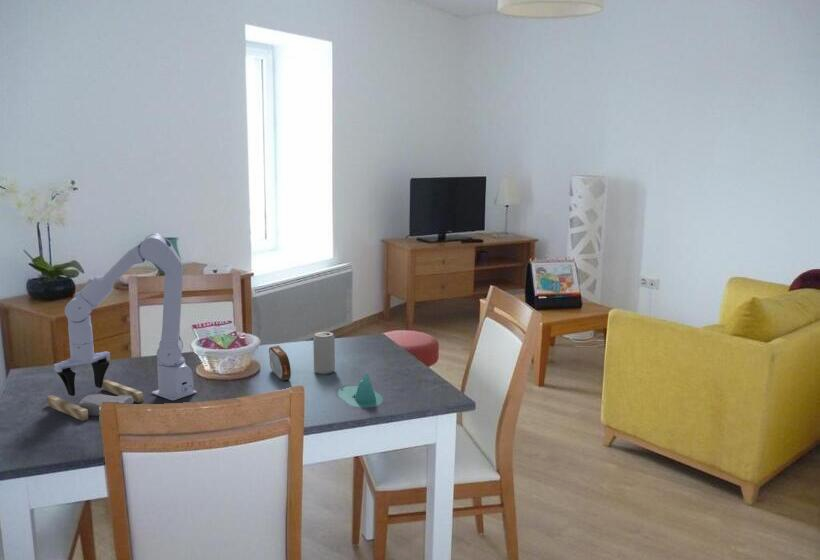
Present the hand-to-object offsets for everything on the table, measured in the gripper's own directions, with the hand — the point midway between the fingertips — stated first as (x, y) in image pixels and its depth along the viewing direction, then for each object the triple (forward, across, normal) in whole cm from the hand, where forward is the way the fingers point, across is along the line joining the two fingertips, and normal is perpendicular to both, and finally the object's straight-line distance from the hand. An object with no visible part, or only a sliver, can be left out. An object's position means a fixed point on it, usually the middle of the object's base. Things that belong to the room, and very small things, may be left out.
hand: (85, 390), depth 187 cm
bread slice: (+3, -45, +27) cm, 53 cm away
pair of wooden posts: (+2, 0, +5) cm, 5 cm away
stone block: (+3, 0, +11) cm, 11 cm away
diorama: (+3, -46, +57) cm, 74 cm away
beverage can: (+2, -56, +35) cm, 66 cm away
